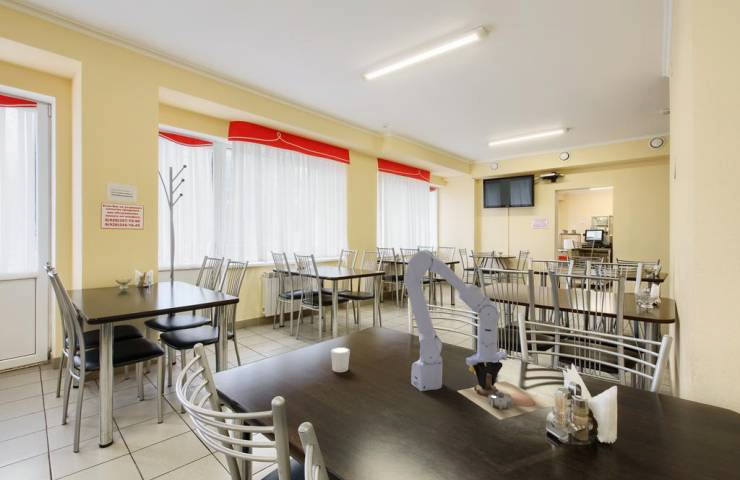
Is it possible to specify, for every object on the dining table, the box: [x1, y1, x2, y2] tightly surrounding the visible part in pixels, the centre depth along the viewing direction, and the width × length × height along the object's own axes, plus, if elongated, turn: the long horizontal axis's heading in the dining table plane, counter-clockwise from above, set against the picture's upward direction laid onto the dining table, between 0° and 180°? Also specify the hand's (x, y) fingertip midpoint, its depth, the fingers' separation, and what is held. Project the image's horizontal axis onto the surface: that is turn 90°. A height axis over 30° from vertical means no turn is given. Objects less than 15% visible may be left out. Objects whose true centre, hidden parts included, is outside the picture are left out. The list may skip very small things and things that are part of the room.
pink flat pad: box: [510, 393, 534, 407], centre depth 103 cm, size 8×8×1 cm
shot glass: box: [330, 346, 351, 373], centre depth 127 cm, size 7×7×7 cm
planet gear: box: [474, 373, 498, 397], centre depth 108 cm, size 7×7×5 cm
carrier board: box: [457, 380, 554, 421], centre depth 104 cm, size 20×18×1 cm
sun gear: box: [488, 391, 513, 411], centre depth 100 cm, size 7×7×3 cm
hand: (486, 385), depth 108 cm, fingers closed on planet gear, 3 cm apart
